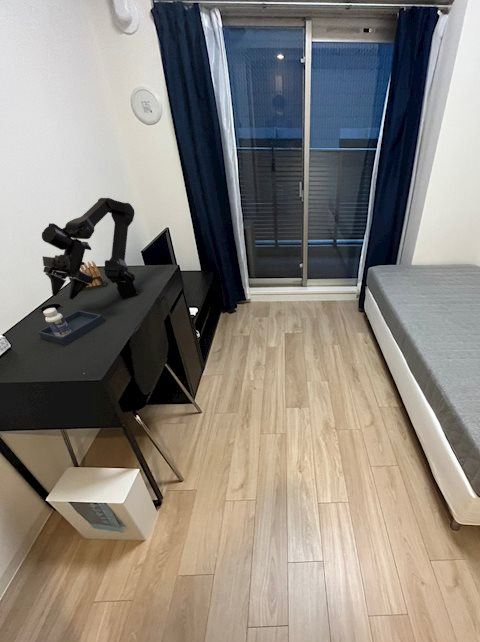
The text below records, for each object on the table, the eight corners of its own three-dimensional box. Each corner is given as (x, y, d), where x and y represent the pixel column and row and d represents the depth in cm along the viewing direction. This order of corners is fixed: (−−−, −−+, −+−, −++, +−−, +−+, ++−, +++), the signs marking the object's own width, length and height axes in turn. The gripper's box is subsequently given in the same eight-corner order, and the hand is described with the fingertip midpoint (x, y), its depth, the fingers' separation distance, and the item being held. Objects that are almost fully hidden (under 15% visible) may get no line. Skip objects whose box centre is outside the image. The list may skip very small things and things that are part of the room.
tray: (81, 316, 134) (78, 310, 132) (104, 321, 130) (101, 315, 128) (41, 338, 122) (37, 332, 121) (65, 345, 118) (61, 338, 116)
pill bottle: (64, 338, 120) (49, 314, 114) (52, 337, 121) (37, 313, 115) (75, 330, 124) (61, 307, 118) (63, 329, 125) (48, 306, 119)
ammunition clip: (81, 290, 154) (68, 265, 146) (82, 289, 155) (69, 263, 147) (106, 286, 156) (94, 261, 148) (106, 284, 157) (94, 259, 149)
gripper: (33, 242, 115) (21, 285, 115) (68, 247, 109) (56, 292, 109) (65, 257, 126) (54, 296, 126) (99, 262, 119) (87, 303, 119)
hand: (62, 297), depth 119 cm, fingers open, 9 cm apart
